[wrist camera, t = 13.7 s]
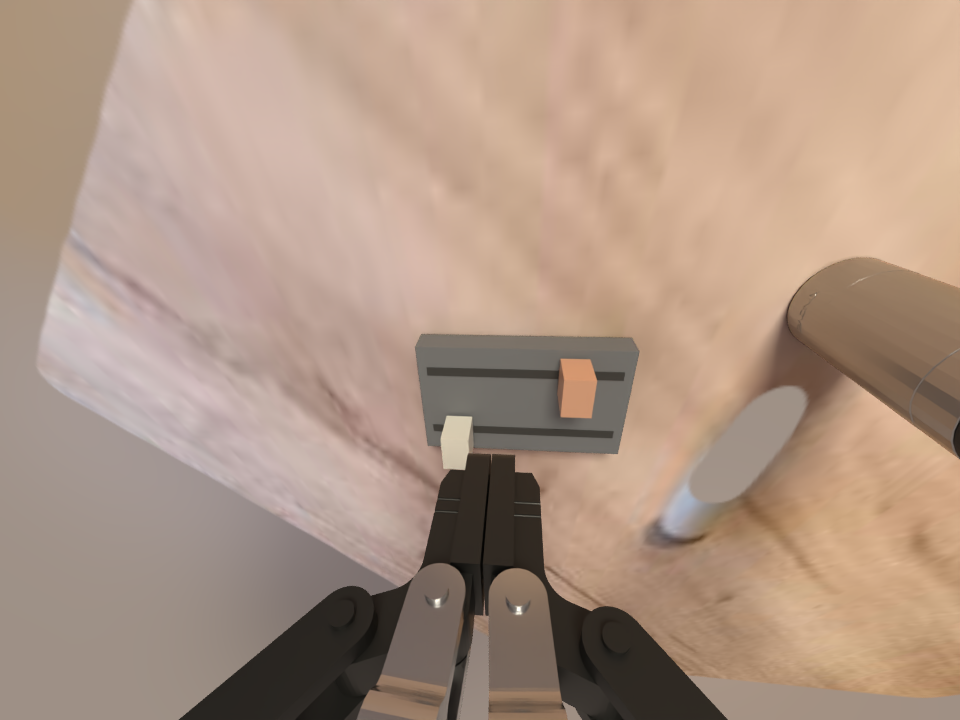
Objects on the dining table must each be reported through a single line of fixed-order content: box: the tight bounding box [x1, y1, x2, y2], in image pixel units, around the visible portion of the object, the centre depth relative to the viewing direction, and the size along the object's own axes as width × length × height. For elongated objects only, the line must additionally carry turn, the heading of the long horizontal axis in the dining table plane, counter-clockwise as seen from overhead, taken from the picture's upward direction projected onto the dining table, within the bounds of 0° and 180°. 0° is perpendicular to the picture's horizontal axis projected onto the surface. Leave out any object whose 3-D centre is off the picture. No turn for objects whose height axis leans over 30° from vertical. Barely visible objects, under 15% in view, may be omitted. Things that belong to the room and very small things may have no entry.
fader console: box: [415, 334, 639, 454], centre depth 44 cm, size 23×14×3 cm, turn 92°
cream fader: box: [440, 416, 474, 470], centre depth 43 cm, size 3×4×4 cm
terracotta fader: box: [557, 359, 597, 418], centre depth 38 cm, size 3×4×4 cm
